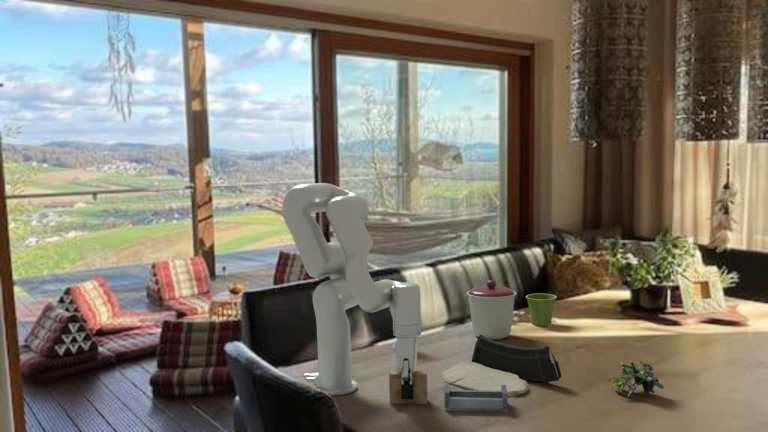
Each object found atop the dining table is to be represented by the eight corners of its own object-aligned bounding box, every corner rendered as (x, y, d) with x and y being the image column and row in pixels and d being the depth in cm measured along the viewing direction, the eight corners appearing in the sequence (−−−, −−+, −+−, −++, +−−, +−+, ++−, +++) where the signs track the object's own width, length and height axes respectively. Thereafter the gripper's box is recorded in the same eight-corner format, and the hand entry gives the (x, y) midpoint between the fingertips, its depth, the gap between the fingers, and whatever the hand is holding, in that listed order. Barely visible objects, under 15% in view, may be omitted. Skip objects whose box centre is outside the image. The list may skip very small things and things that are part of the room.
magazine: (464, 337, 208) (542, 324, 187) (471, 335, 211) (548, 322, 189) (477, 391, 206) (558, 385, 184) (484, 389, 208) (564, 382, 187)
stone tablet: (467, 366, 209) (467, 359, 209) (540, 390, 185) (540, 382, 185) (427, 377, 199) (427, 369, 199) (499, 404, 175) (499, 395, 175)
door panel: (389, 403, 177) (389, 374, 177) (391, 399, 180) (390, 370, 180) (426, 404, 176) (426, 374, 175) (427, 399, 179) (426, 371, 178)
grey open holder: (445, 410, 170) (444, 392, 170) (445, 401, 177) (445, 383, 177) (507, 412, 168) (507, 393, 168) (506, 402, 175) (505, 384, 175)
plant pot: (524, 320, 266) (524, 293, 265) (554, 321, 265) (554, 293, 264) (527, 328, 254) (526, 299, 254) (558, 328, 253) (558, 299, 252)
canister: (527, 337, 241) (526, 280, 239) (491, 345, 231) (490, 286, 229) (492, 328, 256) (492, 274, 254) (457, 335, 246) (456, 279, 244)
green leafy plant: (646, 412, 180) (673, 382, 175) (624, 415, 174) (652, 383, 169) (618, 380, 188) (644, 351, 183) (596, 382, 181) (622, 351, 176)
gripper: (396, 321, 186) (398, 384, 187) (389, 337, 169) (391, 405, 170) (423, 321, 185) (424, 384, 186) (418, 337, 168) (420, 406, 169)
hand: (408, 394), depth 178 cm, fingers open, 5 cm apart
